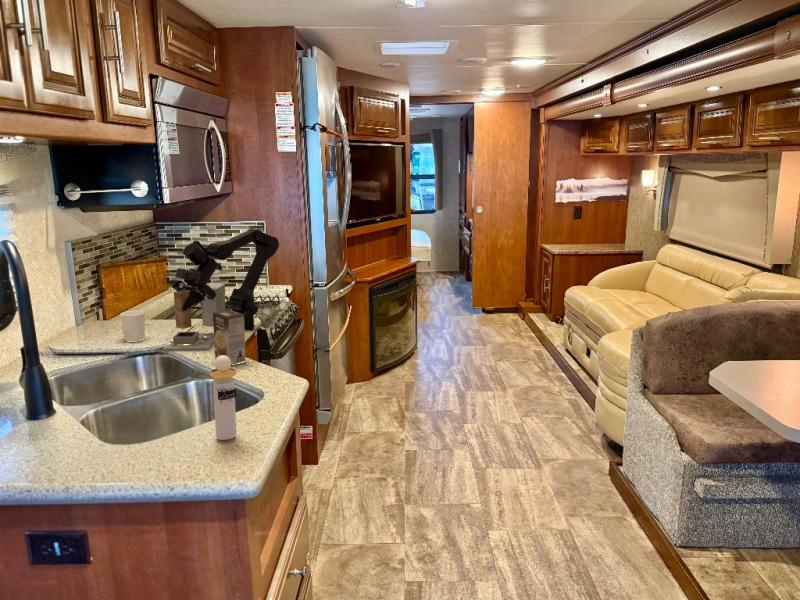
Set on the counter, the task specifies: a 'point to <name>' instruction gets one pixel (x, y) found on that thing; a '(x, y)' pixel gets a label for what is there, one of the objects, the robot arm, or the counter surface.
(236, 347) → the coffee box
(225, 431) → the perfume bottle
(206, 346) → the board
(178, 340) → the gears
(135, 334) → the white cup
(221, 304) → the skincare box
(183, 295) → the peg
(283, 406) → the counter surface
